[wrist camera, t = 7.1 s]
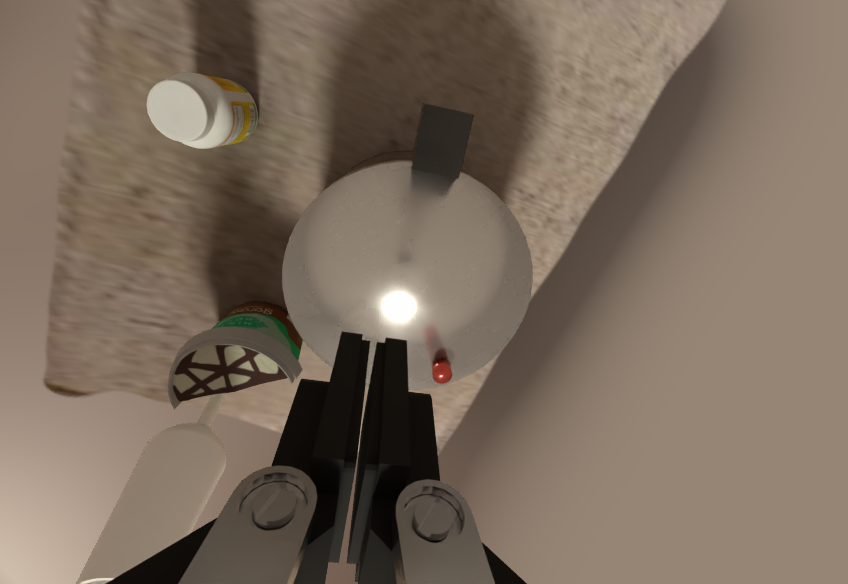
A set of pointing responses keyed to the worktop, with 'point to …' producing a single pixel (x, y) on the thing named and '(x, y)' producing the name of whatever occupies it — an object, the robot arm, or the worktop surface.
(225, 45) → the worktop surface
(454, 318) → the cooker lid
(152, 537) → the champagne flute
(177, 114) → the supplement bottle
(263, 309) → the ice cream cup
